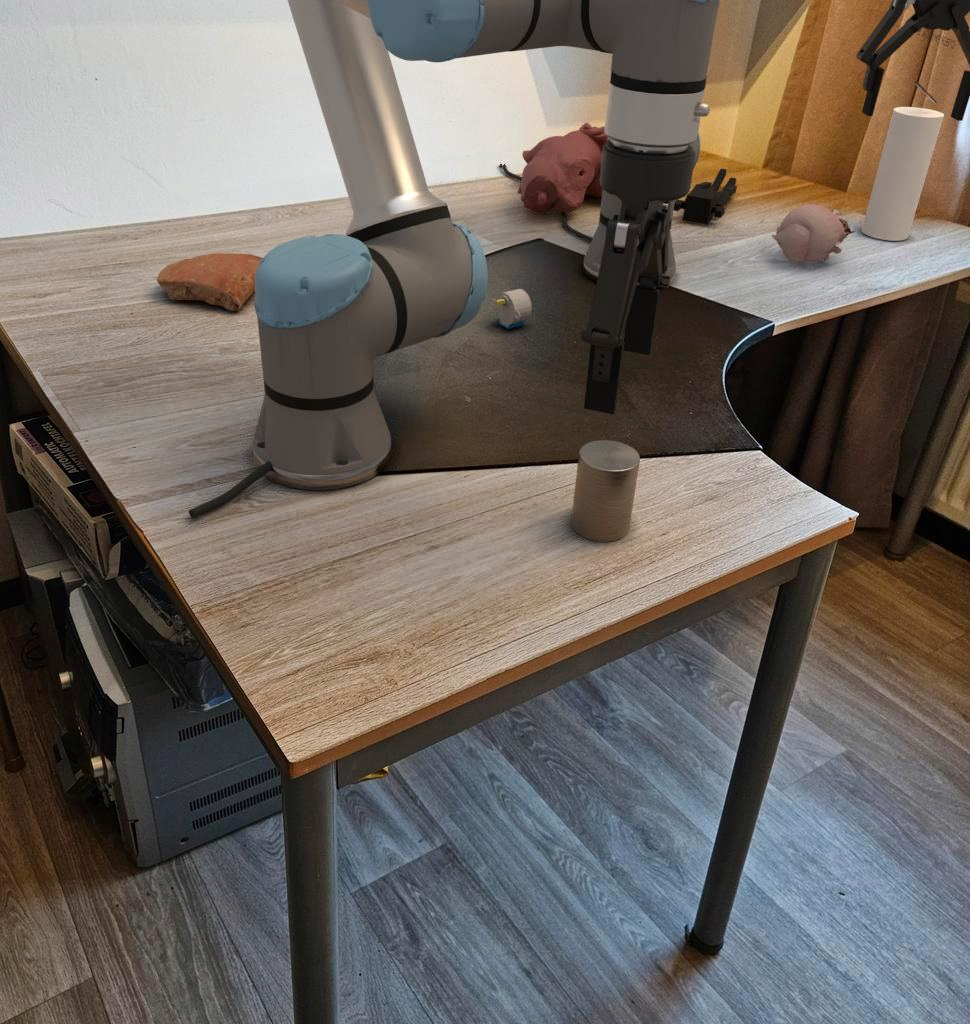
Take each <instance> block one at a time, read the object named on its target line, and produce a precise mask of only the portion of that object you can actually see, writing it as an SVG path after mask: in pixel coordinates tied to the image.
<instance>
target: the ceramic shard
mask: <svg viewBox="0 0 970 1024" xmlns="http://www.w3.org/2000/svg"><path fill="white" fill-rule="evenodd" d="M262 259H263V257H262V256H259V255H254V254H251V253H210V254H203V255H196V256H194V257H191V258H184V259H181V260H178V261H176V262H173V263H169V264H167V265H166V266H165V267H164V268H163V269H162V270H160V272H159V273H158V275H157V277H156V282H157V284H158V285H159V286H160V287H161V288H162V289H163V290H164V291H165V293H166V295H167V296H168V297H169V299H170V300H171V301H204V302H206V303H207V304H209V305H214V306H218V307H219V306H220V307H222V308H224V309H226V310H228V311H231V312H232V311H233V312H236V311H239V310H240V309H241V308H242V307H243V305H244V304H245V302H246V301H247V300H248V299H249V298H250V297H251V296H252V294H253V293H255V274H256V270H257V268H258V265H259V263H260V261H261V260H262Z"/></svg>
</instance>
